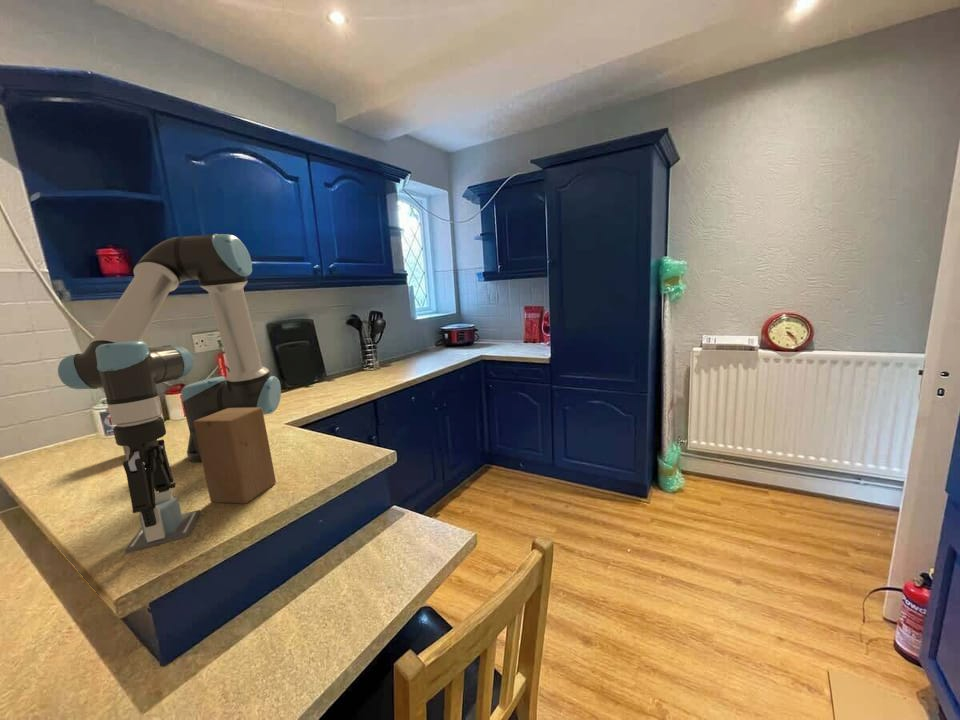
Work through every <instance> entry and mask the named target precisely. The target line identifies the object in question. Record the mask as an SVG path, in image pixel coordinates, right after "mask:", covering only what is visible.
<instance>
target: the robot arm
mask: <svg viewBox="0 0 960 720" xmlns="http://www.w3.org/2000/svg"><path fill="white" fill-rule="evenodd" d="M251 258H252V257H251V255H250V252H249V251H248V249H247V247H246V245H245V244H244V243H243V242H242V240H241V239H240V238H238V237H237V236H236V235H233V234H229V233H227V234H225V233H220V234H219V233H214V234H203V235H201V234H200V235H192V236H191V235H189V236H175V237H171V238H168V239H166V240H163V241H161V242H160V243H158V244H156V245H154V246H153V247H152V248H151V249H150V250H149V251H148V252H146V253H145V254H144V255H143V256H141V258H140V259H139V261H138V262H137V263H136V264H135V266H134V267H133V271H132V272H133V275H134V277H133V278H132V280H131V281H130V283H129V285H128V286H127V288H126V289H125V290H124V292H123V293H122V295H121V297H120V298H119V299H118V301H117V302H116V304H115V306H114V307H113V308H112V310H111V311H110V312H109V314H108V316H107V317H106V319H105V320H104V322H103V323H102V325H101V326H100V328H98V329H99V330H97V332H96V334H95V335H94V337H93V338H92V340H91V341H90V342H89V345H88V346H86V349H85V350H84V352H83V353H75V354H71V355H68V356H66V357H64V358H62V359H61V361H60V362H59V364H58V367H57V375H58V378H59V379H60V381H61V382H62V383H63V384H64V385H65V386H66V387H68V388H70V389H73V390H88V389H89V390H97V389H102V388H103V391H104V394H105V398H106V400H105V401H106V404H107V408H106V409H105V412H106V413H108V414H109V418H110V421H111V424H113V425H115V426H114V427H113V428H112V432H113V435H114V440H115V444H116V445H117V446H120V447H123V446H128V447H129V448H130V449H129V450H130V454H129V460H124V461H123V463H122V467H123V469H124V471H125V474H126V479H127V485H128V491H129V497H130V501H131V502H130V503H131V508H132V510H131V512H132V513H133V514H137V513H140V514H141V519H142V523H143V527H144V531H145V536H146V540H147V542H151V541H154V540H158V539H162V538H165V531H164V527H163V523H162V518H161V514H160V510H159V505H157V506H156V503H157V502H161V501H165V500H170V499H174V497H173V493H172V489H175V488H176V482H174V477H173V474H172V470H171V466H170V462H169V460H168V456H167V452H166V445H165V440H164V439H161V438H163V437H164V436H165V435H166V434H167V429H166V425H165V421H164V418H163V417H161V416H162V414H163V411H162V405H161V401H160V397H159V393H158V389H157V385H158V384H161V383H165V382H169V381H173V380H174V381H177V380H179V379H181V378H183V377H185V376H187V375H189V374H190V373H191V372H192V370H193V368H194V364H195V363H194V362H195V361H194V358H193V355H192V353H191V352H190V351H189V350H188V349H187V348H186V347H183V346H180V345H176V344H175V345H172V344H169V345H162V346H156V347H148V344H147V343H146V342H145V341H144V340H143V339H144V337H145V335H146V334H147V332H148V330H149V328H150V327H151V325H152V323H153V321H154V319H155V317H156V316H157V314H158V313H159V311H160V309H161V308H162V305H163V304H164V302H165V301H166V298H167V297H168V295H169V293H170V292H173V291H176V289H177V288H178V287H179V285H180V284H181V283H184V282H185V281H186V282H187V281H195V280H196V281H197V280H198V283H199V286H200V288H201V289H203V290H205V291H207V292H208V296H209V299H210V303H211V306H212V310H213V313H214V317H215V321H216V325H217V328H218V332H219V333H218V334H219V336H220V339H221V343H222V347H223V351H224V354H225V357H226V361H227V365H228V369H229V373H228V374H227V376H224V375H223V376H215V377H211V378H207V379H206V378H205V379H203V380H199V381H196V382H195V381H194V382H192V383H189V384H187V385H185V386H183V387H182V388H181V390H180V391H181V392H180V393H181V394H180V395H181V403H182V406H183V409H184V414H185V418H186V423H187V427H188V431H189V437H188V444H187V449H186V455H187V456H186V457H187V460H188V461H189V462H194V463H200V462H201V463H202V460H201V455H200V451H199V446H198V442H197V437H196V433H195V428H194V424H193V422H194V421H195V420H198V419H200V418H203V417H206V416H208V415H211V414H214V413H216V412H219V411H222V410H224V409H227V408H252V407H261V408H262V410H263V415H264V416H265V415H271V414H273V413H274V412H275V411H276V410H277V409H278V407H279V404H280V402H281V401H280V400H281V396H282V395H281V394H282V389H281V387H282V386H281V382H280V380H279V378H278V377H277V376H275V375H271V373H270V370H269V369H268V367H266V366H264V365H263V364H262V359H261V355H260V352H259V348H258V343H257V339H256V334H255V331H254V327H253V323H252V319H251V315H250V311H249V306H248V303H247V299H246V298H247V297H246V295H245V291H244V289H245V286H246V285H247V283H248V282H249V281H248V278H247V277H249V276H250V275H251V274H252V272H253V262H252V259H251ZM140 514H139V515H140Z"/></svg>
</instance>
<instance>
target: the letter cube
mask: <svg viewBox="0 0 960 720" xmlns="http://www.w3.org/2000/svg"><path fill="white" fill-rule="evenodd" d="M157 505H159V510H160V514H161V518H162V523H163V527H164V531H165V534H168V533H172V532H175V531H176V530H177V528H178V526H179V525H180V523H181V521H182V514H183V513H182V511H181V508H180V502H179V499H178V497H173V499H170V500H165V501H161V502H157V503H156V506H157ZM138 518H139V523H140V526H141V527H142V531H143V534H144V538H145V539H146V536H145V531H144V527H143V523H142V519H141V514H139V516H138ZM141 527H140V528H141Z"/></svg>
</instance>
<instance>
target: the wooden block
mask: <svg viewBox="0 0 960 720" xmlns="http://www.w3.org/2000/svg"><path fill="white" fill-rule="evenodd" d="M193 424H194V428H195V433H196V437H197V442H198V446H199V451H200V455H201V460H202V462H201V463H202V468H203V474H204V476H205V477H204V479H205V481H206V487H207V491H208V495H209V499H210V502H211V503H222V504H223V503H224V504H248V503H249V502H250V501H253V499H255V498H257V497H258V496H259V495H261V494H263V493H264V492H265V491H266V490H268V489H269V488H271V487H272V486H273V485H275V484H276V482H277V481H276V480H277V479H276V475H275V470H274V465H273V458H272V453H271V448H270V442H269V438H268V437H269V436H268V433H267V432H268V431H267V427H266V421H265V415H263V410H262V408H261V407H252V408H227V409H224V410H222V411H219V412H216V413H214V414H211V415H208V416H206V417H203V418H200V419H198V420H195V421H194V422H193Z"/></svg>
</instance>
